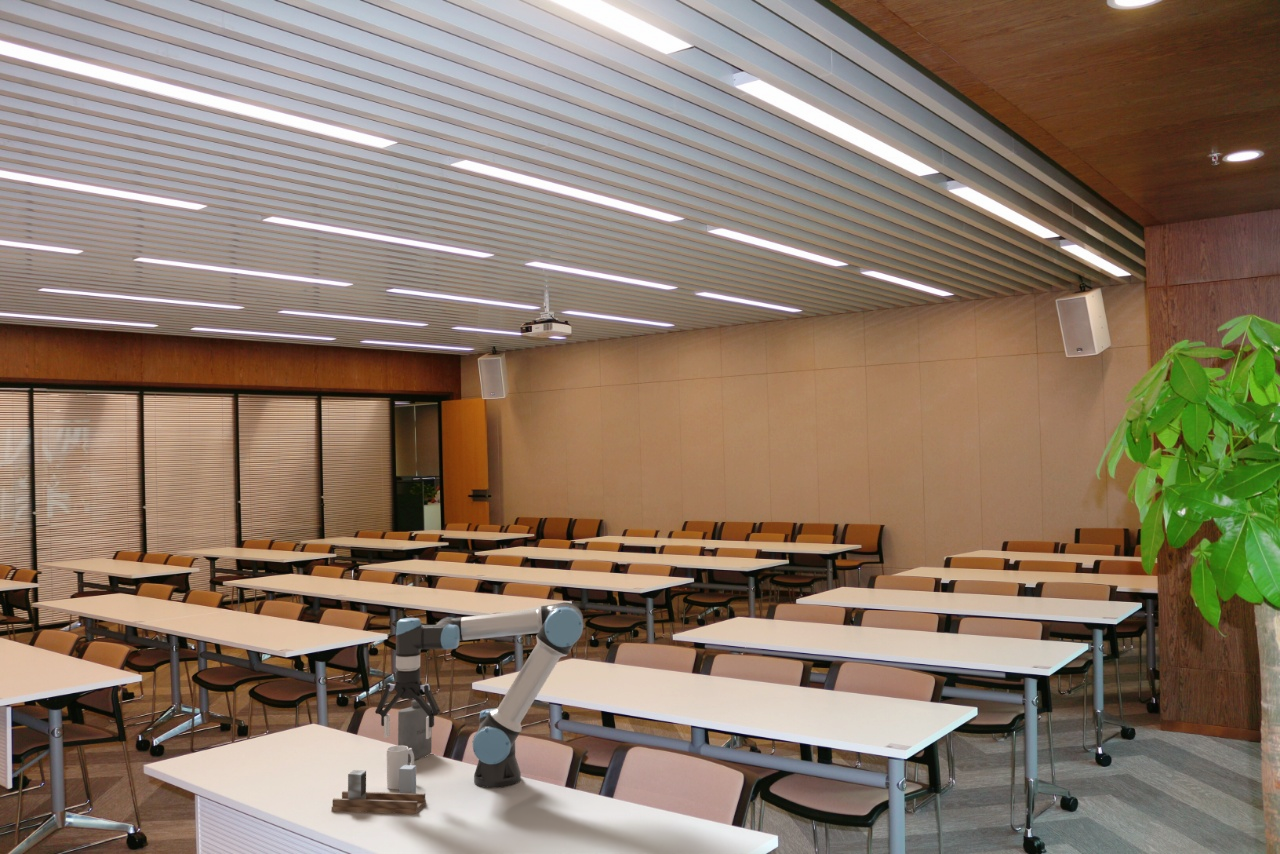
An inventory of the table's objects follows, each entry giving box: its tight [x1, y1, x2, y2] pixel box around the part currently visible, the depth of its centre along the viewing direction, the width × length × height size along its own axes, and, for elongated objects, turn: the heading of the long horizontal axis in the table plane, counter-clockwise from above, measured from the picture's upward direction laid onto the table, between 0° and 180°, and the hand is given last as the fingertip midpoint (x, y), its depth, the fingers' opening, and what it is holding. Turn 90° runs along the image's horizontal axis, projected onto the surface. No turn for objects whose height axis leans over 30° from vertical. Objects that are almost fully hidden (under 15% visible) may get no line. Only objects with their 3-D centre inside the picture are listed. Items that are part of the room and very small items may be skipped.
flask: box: [397, 699, 433, 763], centre depth 340 cm, size 15×6×20 cm, turn 152°
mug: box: [386, 745, 415, 790], centre depth 309 cm, size 10×7×12 cm, turn 141°
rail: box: [331, 769, 427, 815], centre depth 288 cm, size 26×9×10 cm, turn 83°
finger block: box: [398, 764, 417, 794], centre depth 298 cm, size 4×4×9 cm
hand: (407, 737), depth 298 cm, fingers open, 13 cm apart
